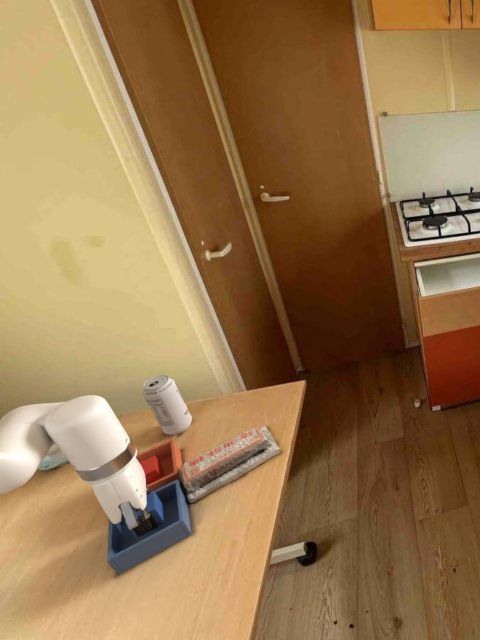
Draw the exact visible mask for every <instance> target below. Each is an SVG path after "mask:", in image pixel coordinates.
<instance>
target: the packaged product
mask: <svg viewBox="0 0 480 640" xmlns="http://www.w3.org/2000/svg"><path fill="white" fill-rule="evenodd" d="M278 454H280V447H279V446H278V444H277V443H276V440H275V439H274V437H273V435H272V433H271V432H270V430H269V429H268V428H267V426H266V425H264V426H262V427H259V426H254V427H252V428H250V429H248V430H246V431H244V432H242V433H240V434H239V435H236V436H234V437H232V438H231V439H228V440H226V441H225V442H223V443H221V444H219V445H217V446H215V447H213V448H211V449H209V450H206V451H205V452H203V453H201V454H199V455H197V456H195V457H193V458H191V459H189V460H187V461H184V462H183V463H182V465H181V468H180V473H179V476H180V479H181V482H182V483H183V485H184V487H183V488H184V490H185V491H186V497H187V501H188V502H189V503H190V504H193V503H195V502H196V501H198V500H200V499H202V498H203V497H205V496H206V495H207V496H208V495H209V494H210V493H212V492H214V491H216V490H217V489H220V488H221V487H224V486H225V485H227V484H229V483H232V482H233V481H236V480H237V479H239V478H240V477H242V476H243V475H245V474H246V473H248V472H250V471H251V470H252V469H255V468H257V467H258V466H260V465H261V464H263V463H264V462H267V461H268V460H270V459H272V458H273V457H275V456H276V455H278Z"/></svg>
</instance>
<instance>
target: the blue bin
mask: <svg viewBox="0 0 480 640" xmlns="http://www.w3.org/2000/svg"><path fill="white" fill-rule="evenodd" d="M152 492H155V493H156V495H157V496H158V498H159V500H160V501H161V503H162V504H163V511H164V523H162V524H161V525H159V527H158V528H156V529H154V530H152V531H150V532H148V533H146V534H145V535H143V536H141V537H136V538H135V537H134V535H133V534H132V533H131V531H130V530H129V528H128V527H127V526H126V524H125V518H124V515H123V513H122V516H121V522H119V523H117V524H113V523H112V522H111V521H110V519H109V518H108V524H107V525H108V526H107V529H108V530H107V555H106V556H107V557H106V558H107V559H106V562H107V563H108V564H109V565H110V567H111V568H112V569H113V570H114V571H115V573H116V574H117V575H120V574H122V573H124V572H126V571H128V570H129V569H131V568H133V567H135V566H137V565H138V564H140V563H142V562H144V561H146V560H147V559H149V558H151V557H153V556H155V555H157V554H158V553H160V552H162V551H164V550H166V549H167V548H169V547H172V546H173V545H175V544H176V543H178V542H180V541H182V540H183V539H185V538H187V537H189V536H191V535H192V527H191V519H190V513H189V507H188V506H189V504H188V497H187V494H186V491H185V488H184V487H183V486H182V485H181V483H180V481H179V479H177V480H175V481H173V482H171V483H169V484H167V485H165V486H163V487H161V488H159V489H157V490H155V491H152ZM152 492H151V493H152Z"/></svg>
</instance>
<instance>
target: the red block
mask: <svg viewBox="0 0 480 640" xmlns="http://www.w3.org/2000/svg"><path fill="white" fill-rule="evenodd" d="M139 463H140V465H141V466H142V468H143V470H144V473H145V478H146V486H147V485H149V484H151V483H153V482H155V481H157V480H159V479H161V478H164V476H163V468H162V466H161V464H160V463H159V461H158V459H157V457H156V456H152V457H150V458H148V459H146V460H143V461H141V462H139Z"/></svg>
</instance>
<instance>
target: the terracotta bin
mask: <svg viewBox="0 0 480 640" xmlns="http://www.w3.org/2000/svg"><path fill="white" fill-rule="evenodd" d="M152 456H156V457H157V459H158V461H159V463H160V464H161V466H162V468H163V476H164V478H161V479H159V480H157V481H155V482H153V483H151V484H149V485H147V487H148V492H152V491H155V490H157V489H159V488H161V487H163V486H165V485H167V484H169V483H171V482H173V481H175V480H177V479H179V481H180V483H181V485H182V486H183V488H184V485H183V483H182V482H181V479H180V476H179V473H180V468H181V465H182V464H183V460H182V452H181V450H180V448H179V445H177V443H176V440H175V438H170V440H167V441H165V442H163V443H160V444H158V445H156V446H153V447H151V448H149V449H146V450H144V451H142V452H140V453H137V455H136V459H137V460H138V462H141V461H143V460H146V459H148V458H150V457H152ZM148 492H146V493H148Z"/></svg>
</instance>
